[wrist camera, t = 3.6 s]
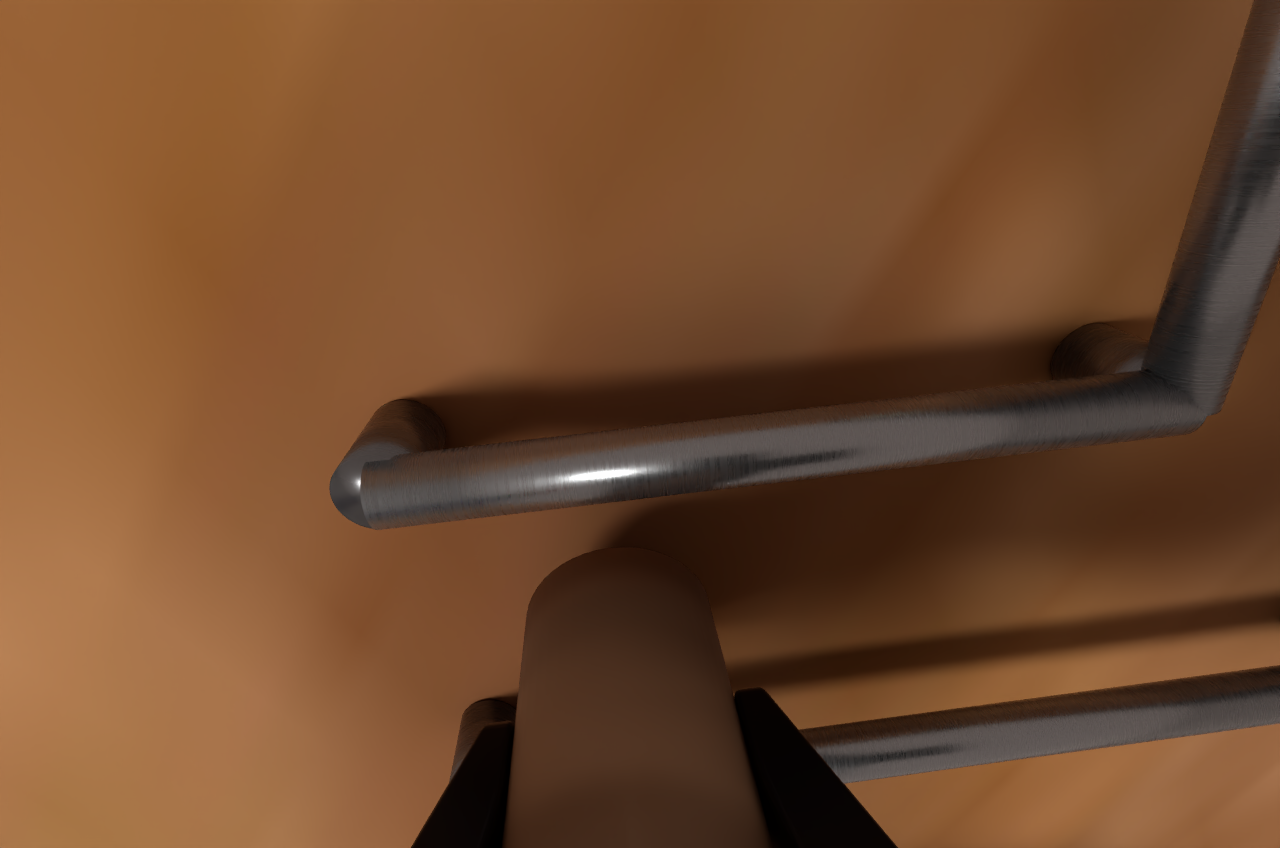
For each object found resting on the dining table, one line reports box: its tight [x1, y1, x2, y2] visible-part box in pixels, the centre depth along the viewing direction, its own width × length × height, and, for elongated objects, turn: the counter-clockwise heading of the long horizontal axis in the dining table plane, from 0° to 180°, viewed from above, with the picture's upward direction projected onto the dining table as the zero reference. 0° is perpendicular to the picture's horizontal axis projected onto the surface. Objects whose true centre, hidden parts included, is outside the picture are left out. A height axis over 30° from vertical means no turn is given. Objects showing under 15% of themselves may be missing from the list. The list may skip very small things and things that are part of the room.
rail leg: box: [330, 323, 1280, 784], centre depth 11 cm, size 8×20×2 cm, turn 95°
